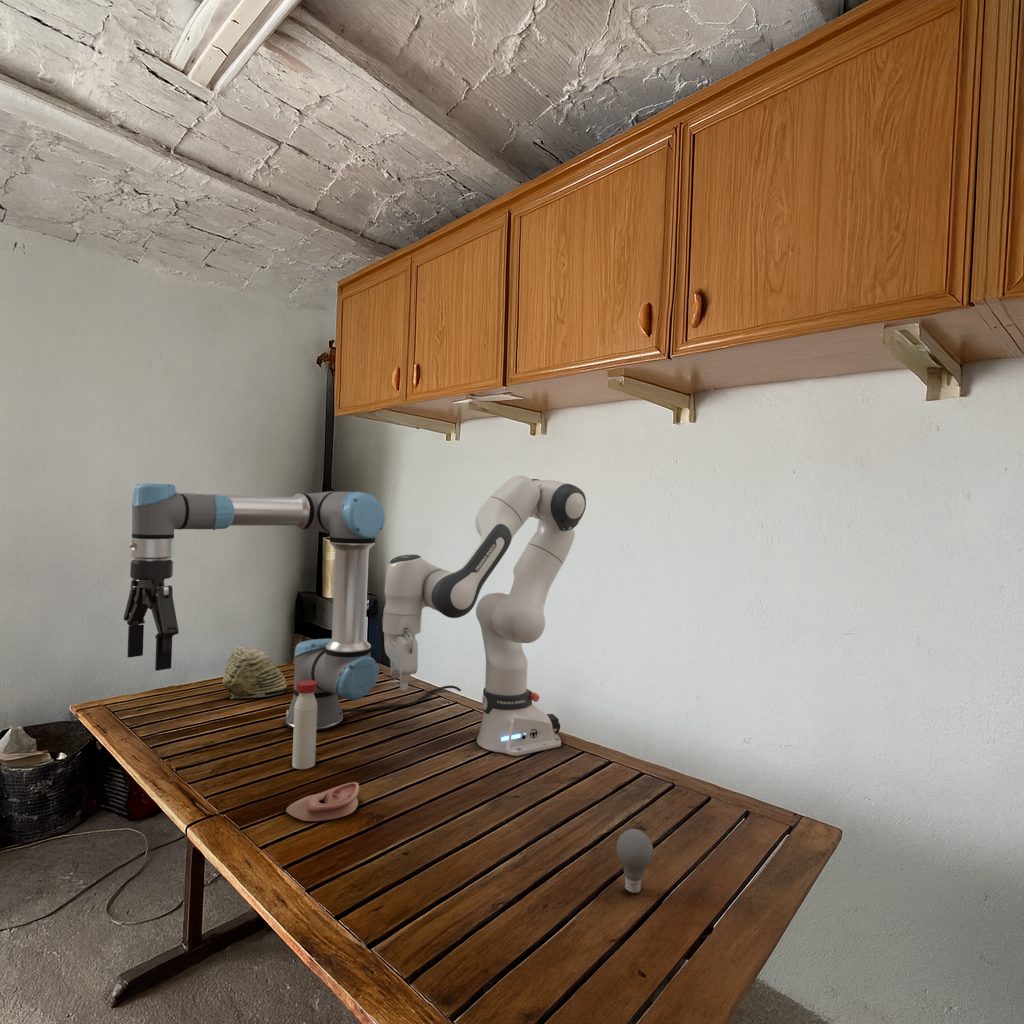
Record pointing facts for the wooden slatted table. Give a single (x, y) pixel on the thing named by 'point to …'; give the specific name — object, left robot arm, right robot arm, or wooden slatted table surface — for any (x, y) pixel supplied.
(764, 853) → the wooden slatted table surface
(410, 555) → the right robot arm
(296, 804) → the anatomical model
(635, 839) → the light bulb
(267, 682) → the fossil
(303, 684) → the cap
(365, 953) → the wooden slatted table surface
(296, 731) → the bottle
